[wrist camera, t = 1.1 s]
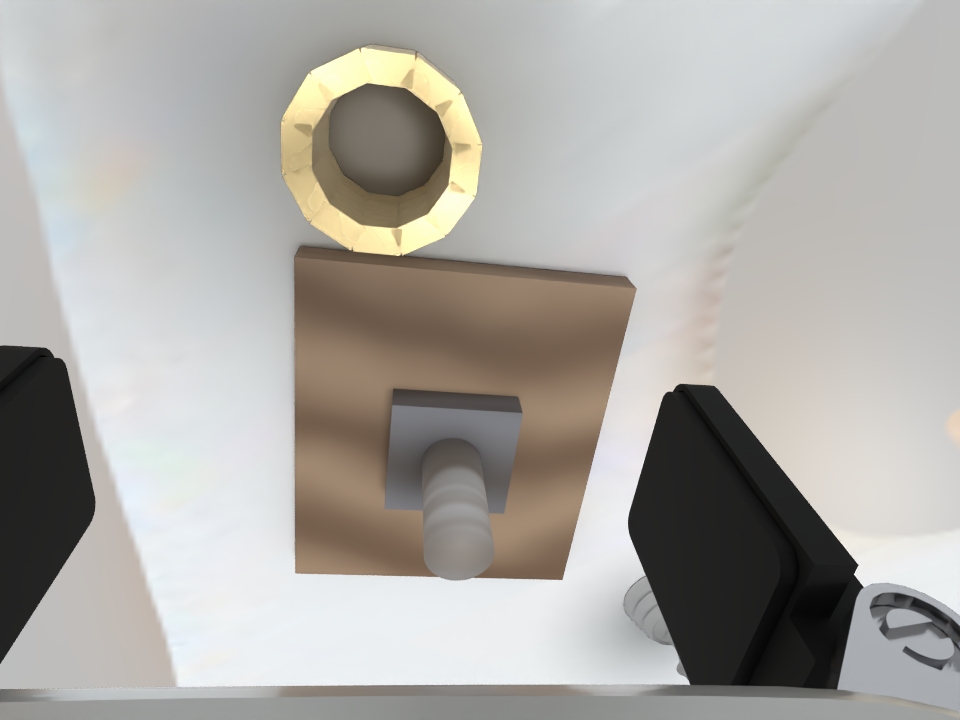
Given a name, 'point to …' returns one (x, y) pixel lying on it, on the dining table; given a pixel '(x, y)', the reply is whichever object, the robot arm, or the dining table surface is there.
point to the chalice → (648, 615)
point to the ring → (346, 204)
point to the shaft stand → (446, 412)
